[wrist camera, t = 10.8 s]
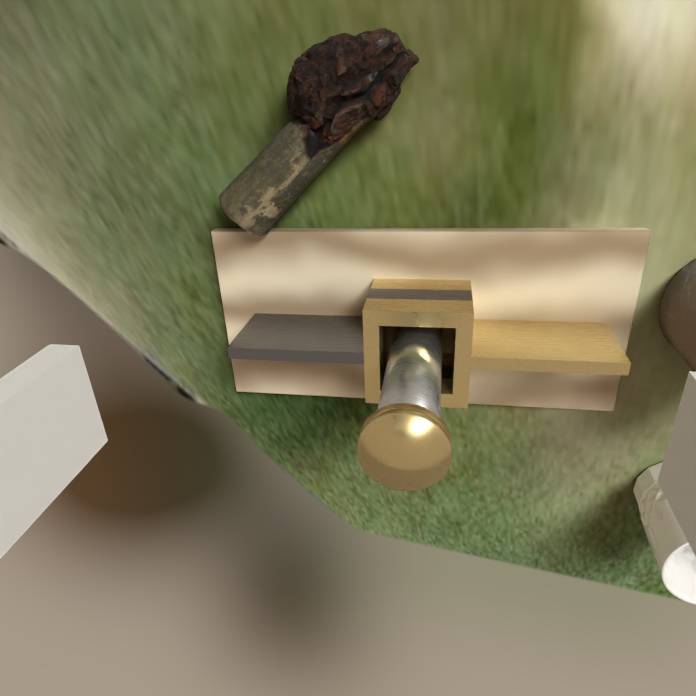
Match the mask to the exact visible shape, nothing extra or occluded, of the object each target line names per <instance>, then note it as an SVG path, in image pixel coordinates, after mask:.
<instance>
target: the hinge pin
mask: <svg viewBox="0 0 696 696" xmlns="http://www.w3.org/2000/svg"><path fill="white" fill-rule="evenodd" d="M442 336H443V328H435V327H401V326H395V329H394V334H393V339H392V344H391V348H390V353H389V358H388V362H387V367H386V372H385V376H384V381H383V386H382V390H381V395H380V400H379V405H378V409H377V410H376V411H374V412H373V413H372V414H371V415H370V416H368V418H367V419H366V420H365V422H364V424H363V426H362V428H361V432H360V436H359V440H358V445H357V455H358V459H359V462H360V464H361V466H362V468H363V469H364V471H365V472H366V473H367V474H368V475H369V476H370V477H371V478H372V479H374V480H375V481H376V482H378V483H380V484H382V485H384V486H386V487H389V488H392V489H396V490H402V491H415V490H421V489H424V488H427V487H430V486H432V485H434V484H435V483H437V482H438V481H440V480H441V479H442V478H443V477H444V476H445V474H446V473H447V471H448V469H449V467H450V464H451V459H452V440H451V435H450V432H449V429H448V428H447V426H446V424H445V423H444V422H443V420H442V419H441V418H440V407H441V371H442Z"/></svg>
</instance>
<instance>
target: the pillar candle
mask: <svg viewBox="0 0 696 696" xmlns="http://www.w3.org/2000/svg"><path fill="white" fill-rule="evenodd" d="M659 322H660V327H661V330H662V332H663V334H664V336H665V337H666V338H667V339H668V341H669V342H670V343H671V344H672V345H673V346H674V348H675V349H676V350H677V351H678V352H679V353H680V354H681V356H682V357H683V358H684V359H685V361H686V362H687V363H688V364H689V365H690V367H691V368H692V369H693V370H694V372H696V259H695V260H694V261H692V262H691V263H689V264H688V265H687V266H685V267H684V268H683V269H681V270H680V271H679V272H678V273H677V274H676V275H675V277H674V278H673V279H672V280H671V282H670V283H669V285H668V286H667V288H666V291H665V292H664V294H663V296H662V299H661V304H660V308H659Z"/></svg>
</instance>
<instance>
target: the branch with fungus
mask: <svg viewBox="0 0 696 696" xmlns="http://www.w3.org/2000/svg"><path fill="white" fill-rule="evenodd" d="M418 61H419V58H418V56H416V55H415V54H414V53H413V52H412V51H411V50H409V49H406V48H405V47H404V45H403V43H402V41H401V39H400V38H399V36H398V34H397V33H395V32H394V33H393V32H392V31H391V30H388V29H386V28H380V29H378V30H375V31H365V32H363V33H360V34H358V35H357V36H352V35H350V34H347V33H342V34H339V35H336V36H331V37H329V38H328V39H327V40H326V41H324V42H322V43H317V44H314V45H313V46H312V47H311V48H309V49H308V50H307V51H306V52H305V53H304V54H302V55H301V57H298V58H297V59H296V60H295V61H294V62H295V63H294V65H293V66H292V71H291V73H290V75H289V77H288V78H289V79H288V85H287V103H288V109H289V112H290V114H291V116H292V118H293V119H294V120H295V121H292V122H290V123H288V124H287V125H285V126H284V127H283V128H282V129H281V130H280V131H279V132H278V134H277V135H276V136H275V137H274V138H273V139H272V140H271V141H270V143H269V144H268V145H267V146H266V147H265V148H264V149H263V150H262V151H261V152H260V154H259V155H258V156H257V157H256V158H255V159H254V160H253V161H252V163H251V164H250V165H249V166H247V167H246V168H245V169H244V170H243V171H242V172H241V173H240V174H239V175H238V176H237V177H236V178H235V180H234V181H233V182H232V183H231V184H230V185H229V186H228V187H227V188H226V189H225V190H224V191H223V192H222V193H221V194H220V196H219V200H220V203H221V207H222V209H223V211H224V212H225V214H226V215H227V216H228V217H229V218H230V219H231V220H232V221H234V222H235V223H237V224H238V225H239V226H240V227H241V228H243V229H244V230H246V231H247V232H248V233H250V234H252V235H255V236H263V235H264V236H265V235H267V234H268V232H269V231H270V230H271V229H272V227H273V226H274V225H275V224H276V222H277V221H278V220H279V219H280V218H281V217H282V215H283V214H284V213H285V212H286V211H287V210H288V209H289V208H290V206H291V205H292V204H293V203H294V202H295V201H296V200H297V198H298V197H299V196H300V195H301V194H302V193H303V192H304V191H305V189H306V188H307V187H308V186H309V185H310V184H311V182H312V181H313V180H314V179H315V178H316V177H317V176H318V175H319V174H320V173H321V171H322V170H323V169H324V168H325V167H326V166H327V165H328V164H329V163H330V162H331V161H332V159H333V158H334V157H335V156H336V155H337V154H338V153H339V152H340V151H341V150H342V149H343V147H344V146H345V145H346V144H347V143H348V142H349V141H350V140H351V139H352V138H353V137H354V136H355V135H356V134H357V133H358V132H359V131H360V130H361V129H362V128H363V127H364V126H365V125H366V124H368V123H369V122H370V121H372V120H373V119H374V120H376V121H377V120H381V119H382V118H384V117H385V116H386V115H387V114H388V112H389V111H390V109H391V106H392V104H393V102H394V101H395V100H396V99H397V98H398V95H399V94H400V92H401V88H400V84H401V82H402V81H403V79H404V77H405V75H406V74H407V73H408V72H409V71H410V68H412V67H413V66H414V65H415V64H417V63H418Z"/></svg>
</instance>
